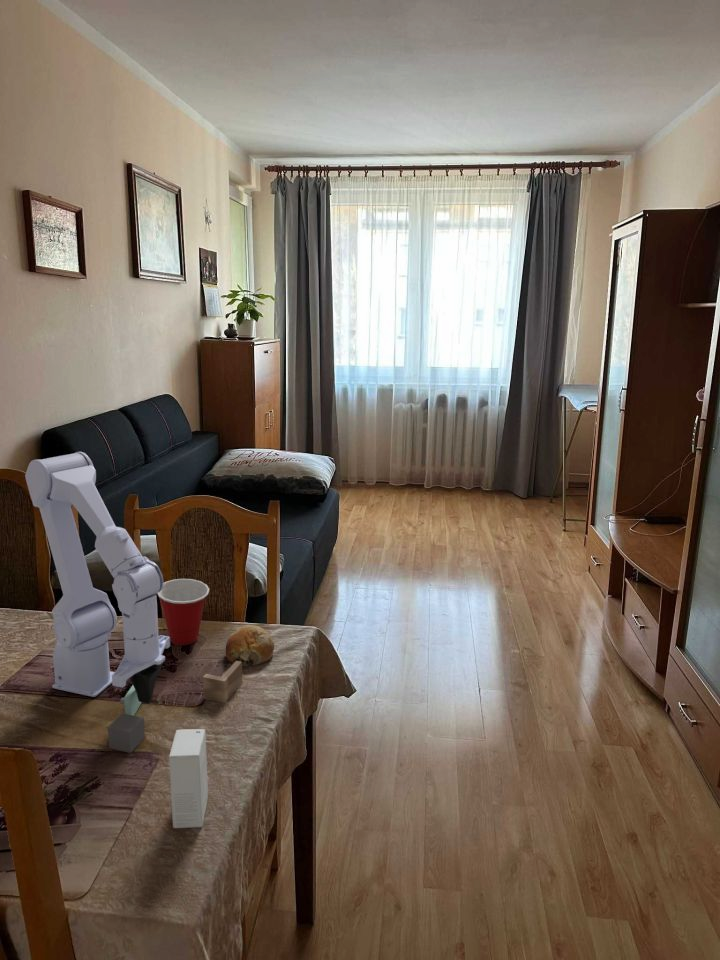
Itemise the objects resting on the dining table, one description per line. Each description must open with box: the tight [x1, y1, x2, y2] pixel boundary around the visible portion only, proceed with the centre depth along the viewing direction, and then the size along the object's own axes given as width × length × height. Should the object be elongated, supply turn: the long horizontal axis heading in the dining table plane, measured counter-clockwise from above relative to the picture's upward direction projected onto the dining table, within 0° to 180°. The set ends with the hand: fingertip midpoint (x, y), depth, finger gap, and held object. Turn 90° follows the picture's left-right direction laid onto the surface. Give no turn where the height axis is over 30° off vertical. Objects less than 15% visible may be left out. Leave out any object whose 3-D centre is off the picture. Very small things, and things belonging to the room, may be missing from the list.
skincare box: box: [168, 728, 209, 829], centre depth 95 cm, size 6×4×12 cm
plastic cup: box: [156, 578, 210, 646], centre depth 144 cm, size 11×11×12 cm
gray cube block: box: [107, 712, 146, 754], centre depth 111 cm, size 4×4×4 cm
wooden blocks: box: [129, 661, 243, 704], centre depth 128 cm, size 20×7×4 cm, turn 74°
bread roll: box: [225, 624, 275, 667], centre depth 139 cm, size 10×10×8 cm
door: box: [119, 684, 143, 716], centre depth 122 cm, size 12×2×4 cm, turn 178°
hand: (145, 701), depth 119 cm, fingers closed, pressing on door
